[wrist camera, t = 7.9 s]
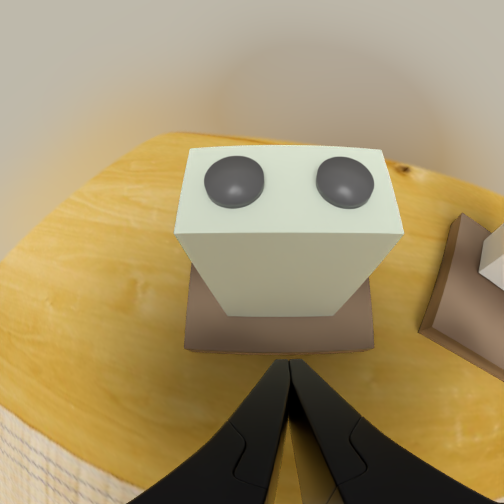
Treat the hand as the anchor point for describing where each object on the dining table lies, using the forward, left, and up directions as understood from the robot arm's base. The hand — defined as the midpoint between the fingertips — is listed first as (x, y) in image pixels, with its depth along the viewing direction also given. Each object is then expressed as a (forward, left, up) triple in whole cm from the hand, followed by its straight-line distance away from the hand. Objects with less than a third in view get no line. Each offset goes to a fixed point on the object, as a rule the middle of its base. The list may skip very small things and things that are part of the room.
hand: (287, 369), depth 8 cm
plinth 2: (+15, -9, -9) cm, 20 cm away
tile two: (+3, +3, -7) cm, 9 cm away
